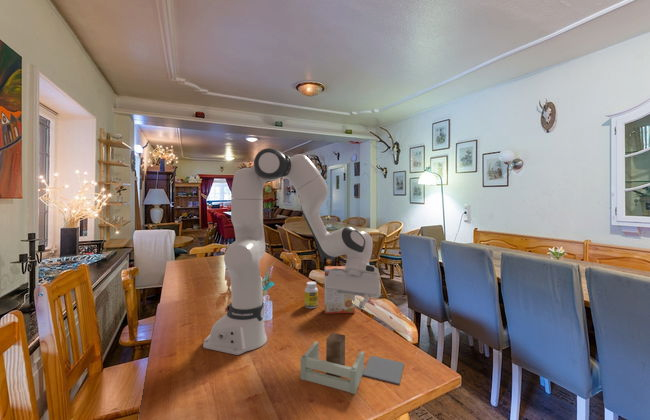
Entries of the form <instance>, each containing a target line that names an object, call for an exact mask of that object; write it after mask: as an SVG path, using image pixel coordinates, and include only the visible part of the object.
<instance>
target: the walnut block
mask: <svg viewBox="0 0 650 420" xmlns="http://www.w3.org/2000/svg"><path fill="white" fill-rule="evenodd" d="M325 351H326V352H325V353H326V355H325V356H326V360H325V361H328V362H332V363H336V364H340V365H344V366H346V335H345V334H341V333H335V332H331V333H330V334H329V336H328V337H327V338H326V350H325ZM325 374H326V375H330V376H334V377H338V378H342V376H339V375H335V374H331V373H327V372H325Z"/></svg>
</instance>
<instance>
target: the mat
mask: <svg viewBox="0 0 650 420" xmlns="http://www.w3.org/2000/svg"><path fill="white" fill-rule="evenodd" d="M368 358H369V359H368V361H367V363H366V365H365V366H364V372H363V376H362V377H366V378H371V379H375V380H379V381H381V382H382V381H383V382H387V383H391V384H393V385H394V384H395V385H398V386H399V385H401V380H402V377H403V369H404V366H405V362H403V361H402V362H401V361H397V360H393V359H388V358H384V357H379V356H374V355H370V356H369V357H368Z"/></svg>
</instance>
